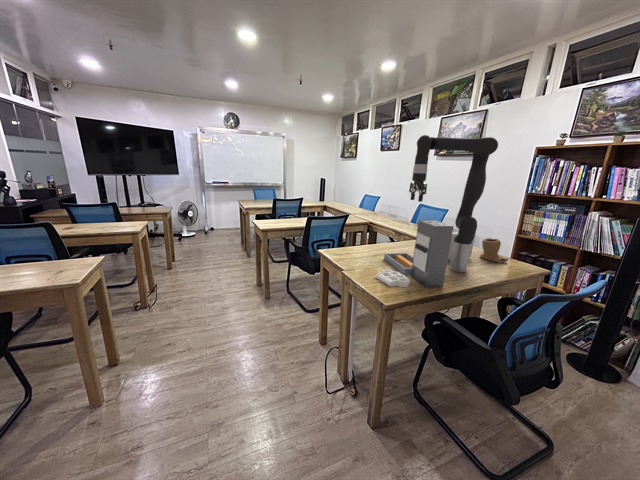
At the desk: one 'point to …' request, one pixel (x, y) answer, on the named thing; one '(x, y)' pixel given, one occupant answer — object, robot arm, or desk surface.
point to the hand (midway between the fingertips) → (416, 200)
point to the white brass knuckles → (393, 278)
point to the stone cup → (492, 250)
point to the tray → (397, 265)
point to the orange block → (403, 261)
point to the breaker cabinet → (431, 253)
